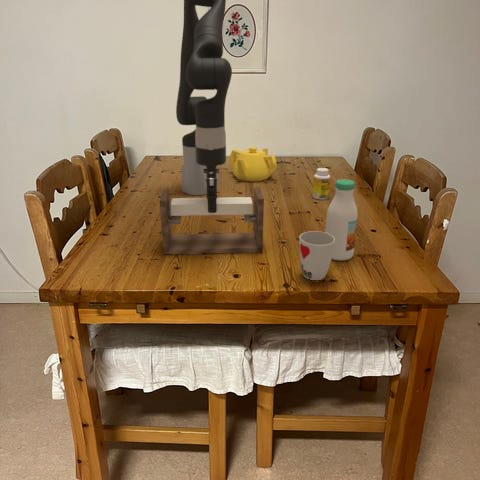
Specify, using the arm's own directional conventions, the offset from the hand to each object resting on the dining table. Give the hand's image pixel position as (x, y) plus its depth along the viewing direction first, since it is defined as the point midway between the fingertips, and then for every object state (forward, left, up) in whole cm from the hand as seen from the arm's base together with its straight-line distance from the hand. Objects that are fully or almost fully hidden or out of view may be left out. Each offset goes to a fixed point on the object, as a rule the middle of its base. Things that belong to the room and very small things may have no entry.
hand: (212, 208), depth 122 cm
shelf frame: (0, 0, -11) cm, 11 cm away
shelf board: (0, 0, -1) cm, 1 cm away
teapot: (-18, +64, -11) cm, 67 cm away
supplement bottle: (+14, +52, -11) cm, 55 cm away
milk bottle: (+32, +10, -11) cm, 35 cm away
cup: (+30, -4, -11) cm, 32 cm away
